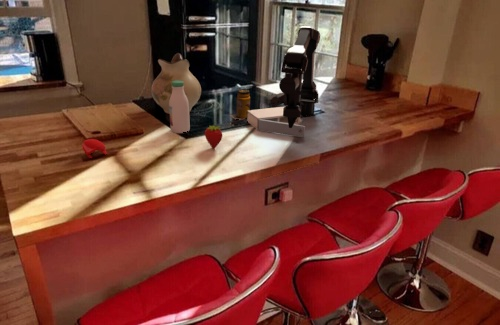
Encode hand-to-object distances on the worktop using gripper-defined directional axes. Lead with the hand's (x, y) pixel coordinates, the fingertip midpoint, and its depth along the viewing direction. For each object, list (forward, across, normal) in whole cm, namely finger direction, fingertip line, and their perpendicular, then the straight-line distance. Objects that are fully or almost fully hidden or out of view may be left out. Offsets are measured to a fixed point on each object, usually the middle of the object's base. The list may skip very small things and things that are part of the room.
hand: (290, 127), depth 143 cm
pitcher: (+6, -31, -53) cm, 62 cm away
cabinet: (+6, -20, -7) cm, 22 cm away
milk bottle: (+6, -5, -44) cm, 45 cm away
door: (+5, -7, -4) cm, 9 cm away
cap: (+6, +24, -66) cm, 71 cm away
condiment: (+6, -26, -22) cm, 35 cm away
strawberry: (+6, +11, -28) cm, 30 cm away
